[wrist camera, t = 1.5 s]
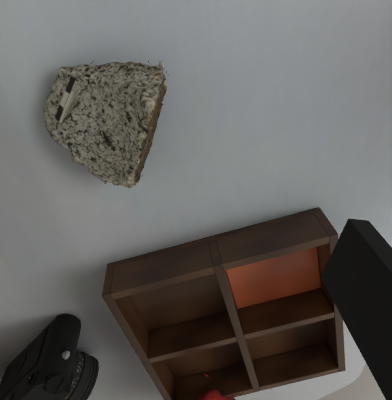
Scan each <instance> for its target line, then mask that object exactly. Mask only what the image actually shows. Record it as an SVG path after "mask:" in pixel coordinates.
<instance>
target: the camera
mask: <svg viewBox="0 0 392 400" xmlns="http://www.w3.org/2000/svg"><path fill="white" fill-rule="evenodd" d="M80 329H81V323H80V320H79V319H78V318H76V317H75V316H73V315H68V314H63V315H60V316H57V317H56V318H55V319H54V320H53V321H52V322H51V323H50V324H49V325H48V326H47V327H46V328H45V329H44V330H43V331H42V332H41V333H40V334H39V335H38V336H37V337H36V338H35V340H34V341H33V342H32V343H31V344H30V345H29V346H28V347H27V348H26V349H25V350H24V351H23V352H22V353H21V354H20V355H19V356H18V357H17V358H16V359H15V360H14V361H13V362H12V363H11V364H10V365H9V366H8V367H7V369H6V371H5V373H4V376H3V378H2V381H1V384H0V400H87V399H88V397H89V396H90V394H91V392H92V390H93V387H94V385H95V382H96V379H97V376H98V370H99V364H98V360H97V359H96V358H94V357H92V356H89V355H88V354H85V353H83V352H78V351H77V350H76V348H77V343H78V339H79V334H80Z"/></svg>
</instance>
